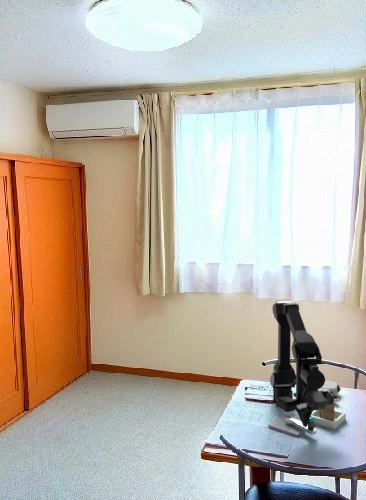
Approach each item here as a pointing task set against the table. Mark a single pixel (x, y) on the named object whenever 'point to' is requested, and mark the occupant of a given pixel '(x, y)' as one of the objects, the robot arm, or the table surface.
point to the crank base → (286, 426)
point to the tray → (338, 420)
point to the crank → (310, 426)
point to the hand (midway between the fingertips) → (304, 427)
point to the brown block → (327, 412)
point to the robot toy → (331, 389)
